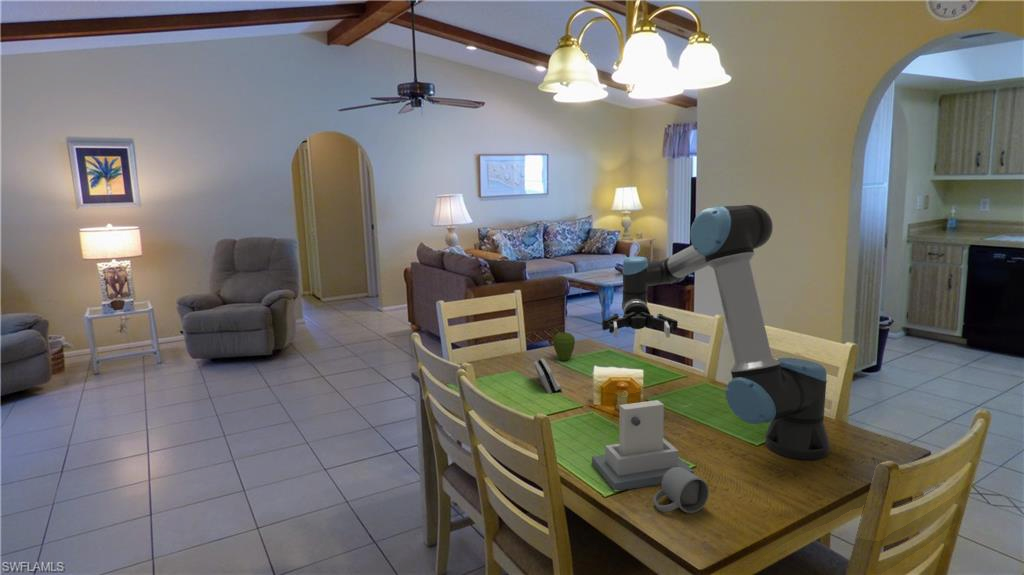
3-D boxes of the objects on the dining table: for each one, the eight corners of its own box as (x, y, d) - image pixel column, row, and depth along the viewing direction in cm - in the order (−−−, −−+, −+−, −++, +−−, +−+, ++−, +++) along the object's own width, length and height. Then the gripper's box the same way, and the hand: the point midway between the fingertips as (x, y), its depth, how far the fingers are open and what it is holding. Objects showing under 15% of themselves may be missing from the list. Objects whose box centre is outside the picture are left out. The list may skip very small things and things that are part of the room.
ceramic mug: (686, 491, 136) (686, 459, 135) (709, 508, 129) (710, 475, 127) (645, 501, 133) (645, 469, 131) (667, 520, 125) (667, 486, 124)
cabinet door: (657, 457, 148) (657, 400, 146) (665, 465, 144) (666, 406, 142) (619, 463, 146) (619, 405, 143) (626, 471, 142) (627, 411, 139)
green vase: (579, 360, 235) (579, 332, 233) (562, 364, 230) (561, 335, 228) (566, 355, 242) (565, 327, 240) (549, 359, 238) (548, 330, 236)
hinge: (563, 392, 201) (553, 366, 199) (550, 398, 201) (539, 371, 198) (552, 376, 217) (542, 352, 215) (540, 381, 217) (530, 357, 215)
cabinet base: (664, 453, 155) (665, 431, 154) (693, 478, 142) (694, 454, 141) (591, 464, 150) (591, 441, 149) (614, 491, 137) (614, 467, 136)
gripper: (679, 326, 178) (690, 346, 157) (594, 326, 181) (594, 345, 161) (680, 301, 176) (691, 318, 156) (594, 301, 180) (593, 318, 159)
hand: (641, 332), depth 158 cm, fingers open, 13 cm apart
